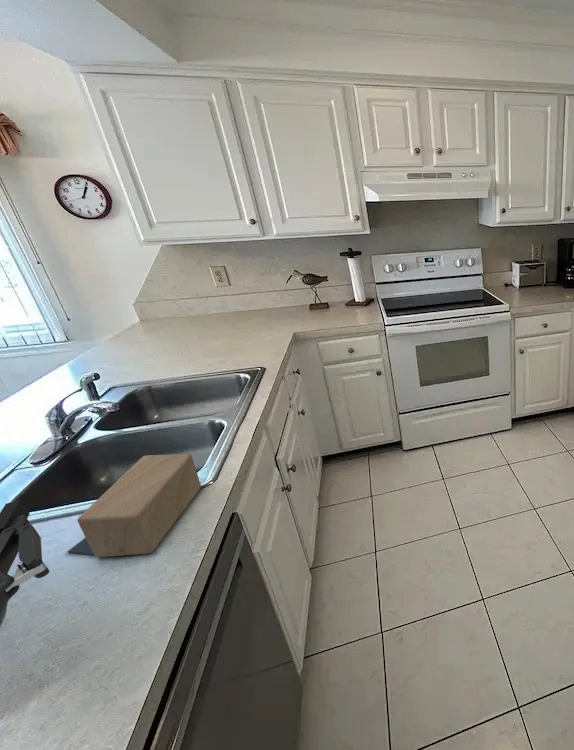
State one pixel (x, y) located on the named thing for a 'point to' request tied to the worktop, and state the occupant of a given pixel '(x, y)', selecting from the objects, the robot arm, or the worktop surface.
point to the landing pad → (82, 548)
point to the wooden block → (140, 506)
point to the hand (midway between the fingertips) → (17, 508)
